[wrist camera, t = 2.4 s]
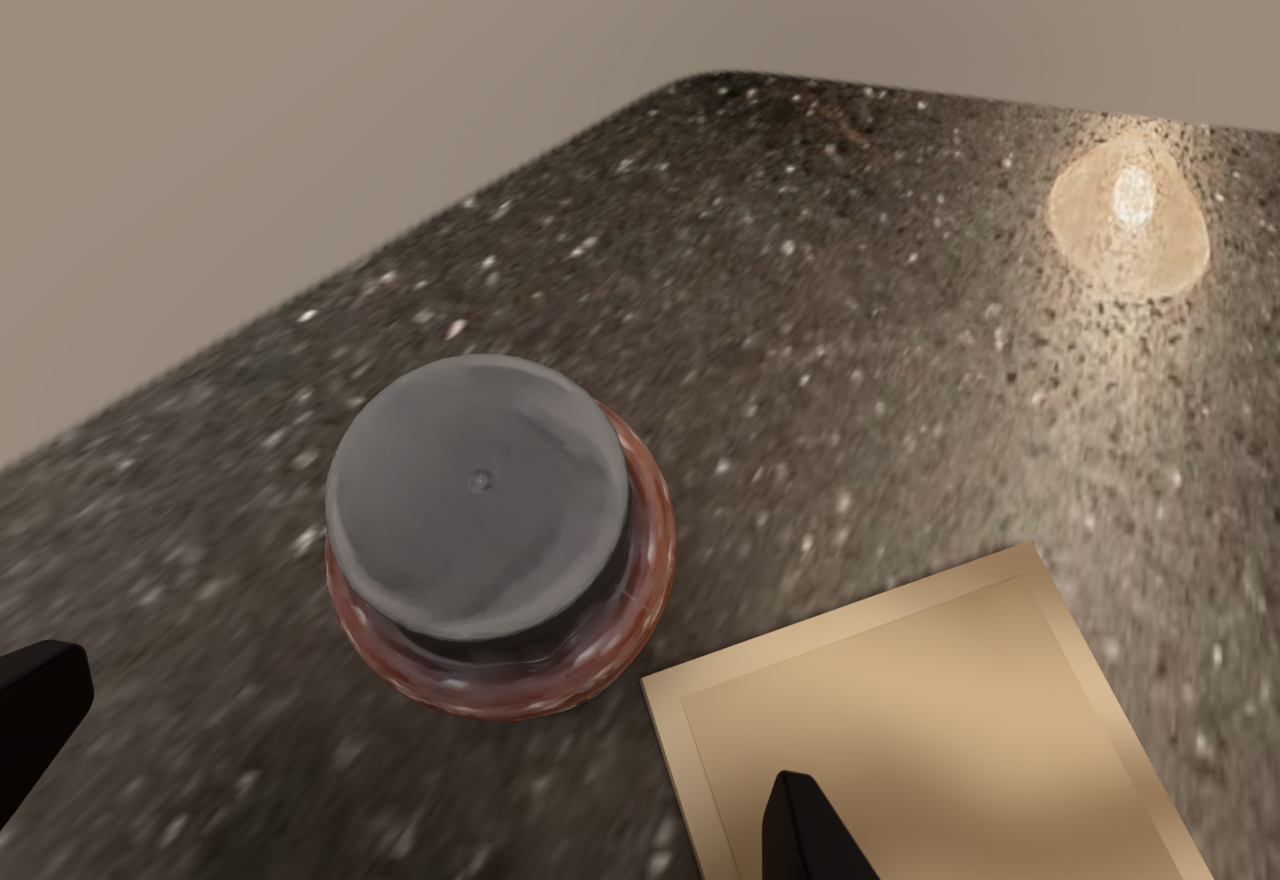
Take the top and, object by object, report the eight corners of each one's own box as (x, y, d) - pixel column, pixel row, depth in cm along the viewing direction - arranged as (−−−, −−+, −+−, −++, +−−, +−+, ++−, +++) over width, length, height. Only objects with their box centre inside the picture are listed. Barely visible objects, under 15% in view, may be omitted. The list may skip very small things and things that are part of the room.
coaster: (1252, 1004, 17) (1293, 1022, 16) (814, 1236, 15) (830, 1273, 14) (1011, 548, 21) (1032, 539, 20) (639, 679, 19) (641, 677, 18)
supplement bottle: (485, 475, 21) (377, 231, 10) (673, 541, 20) (759, 358, 10) (396, 672, 19) (141, 621, 8) (604, 750, 18) (622, 802, 8)
